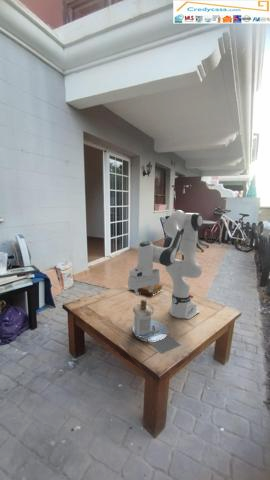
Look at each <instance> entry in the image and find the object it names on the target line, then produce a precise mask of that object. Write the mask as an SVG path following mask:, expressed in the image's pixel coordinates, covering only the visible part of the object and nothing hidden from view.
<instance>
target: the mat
mask: <svg viewBox="0 0 270 480" xmlns="http://www.w3.org/2000/svg"><path fill="white" fill-rule="evenodd" d="M147 343H148V344H149V345H151V346H152V347H153V348H154V349H155V350H157V351H158V353H160V354H164V353H167V352H168V351H171V350H173V349H175V348H178V347H180V346H181V343H179V342H178V341H177V340H175V338H173V337H171V336H170V335H168V334H167V336H166V337H165V338H164V339H162V340H159V341H156V342H150V341H147Z"/></svg>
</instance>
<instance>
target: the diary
mask: <svg viewBox="0 0 270 480" xmlns="http://www.w3.org/2000/svg"><path fill="white" fill-rule="evenodd" d="M150 287H151V286H147V287H143V288H138V290H137V291H138V292H141V293H143V294H142V295H144V294H146V295H145V296H148V297H151V298H152V297H154V296H153V294H155V293H157V292H158V291H160V290H161V289H162V290H163V288H162V287H164V285H163V284H160V283H159V284H155V285H154V288H153V291H152V292H149V289H150ZM141 293H140V294H141Z"/></svg>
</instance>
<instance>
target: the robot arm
mask: <svg viewBox="0 0 270 480" xmlns="http://www.w3.org/2000/svg"><path fill="white" fill-rule="evenodd" d="M203 223H204V219H203V215H202V214H201V213H199V212H185V211H183V210H181V209H176V210H174V211H173V212H172V213H171V214H170V215H169V217H168V218H167V219H166V221H165V222H164V224H163V232H164V233H165V235H166V236H168V237H169V238H170V239H171V241H170V243H169V246H168V247H163V246H158V245H155V244H153V242H152V241H149V240H148V241H142V242H140V243H139V245H138V246H137V248H138V249H137V266H136V267H134V268H132V269H130V270H129V276H128V280H127V281H128V282H127V287H128V289H129V290H130V289H131V290H130V291H132V290H134V291H133V292H134V293H135V296H140V293H139V292H138V291H137V290H138V288H143V287H147V286H151V287H150V289H149V292H152V291H153V288H154V285H155V284H160V281H161V280H160V279H161V278H160V270H159V268H158V267H156V268H154V264H153V263H155V264H159V265H163V266H164V269H165V270H166V271H165V272H167V274H169V276H170V277H171V280H172V284H173V285H172V286H173V287H172V295H171V302H170V303H171V304H170V307H169V314H170V316H172V317H174V318H177V319H185V320H190V319H192V318H194V317H195V316H197V315H198V314H200V313H199V312H200V310H199V309H198V308H197V304H196V302H194V301H193V300H192V299H193V298H194V295H193V294H190V283H189V282H188V281H187V280H185V278H188V279H199V277H201V276H202V273H203V269H202V266H201V264H200V263H199V261H198V260H197V258H196V257H197V256H196V250H197V248H196V247H197V243H198V236H199V234H198V233H199V230H200V229H201V227H202V226H203ZM178 251H179V253H180V254H181V255H182V256H184V259H180V258H179V259H177V253H178ZM184 277H185V278H184ZM197 313H198V314H197ZM196 314H197V315H196Z"/></svg>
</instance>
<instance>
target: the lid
mask: <svg viewBox="0 0 270 480" xmlns="http://www.w3.org/2000/svg"><path fill="white" fill-rule="evenodd" d="M154 310H155V309H154V307H153V306H151V305H150V304H147V300H146V299H143V300H142V299H141V300H140V304H139V303H138V304H136V305H133V307H132V311H133V314H134V315H135V314H137V315H139V316H149V315H151V316H152V315H153V314H154Z"/></svg>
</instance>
